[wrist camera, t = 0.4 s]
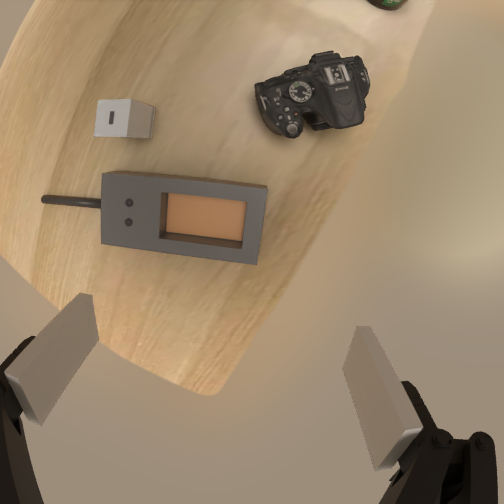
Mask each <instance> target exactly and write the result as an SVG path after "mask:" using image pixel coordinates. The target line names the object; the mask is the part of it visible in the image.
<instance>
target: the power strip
mask: <svg viewBox="0 0 504 504" xmlns="http://www.w3.org/2000/svg"><path fill="white" fill-rule="evenodd" d="M267 192H268V188H267V186H264V185H257V184H249V183H241V182H233V181H225V180H216V179H207V178H198V177H188V176H177V175H166V174H153V173H139V172H124V171H112V172H107V173H102V188H101V200H99V199H87V198H75V197H62V196H47V195H44V196H42V198H41V202H42V203H45V204H57V205H68V206H79V207H89V208H100V209H101V244H106V245H113V246H120V247H127V248H134V249H141V250H148V251H155V252H162V253H170V254H177V255H184V256H192V257H199V258H207V259H214V260H222V261H229V262H237V263H245V264H253V265H257V260H258V253H259V247H260V240H261V233H262V226H263V219H264V212H265V206H266V199H267Z"/></svg>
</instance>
